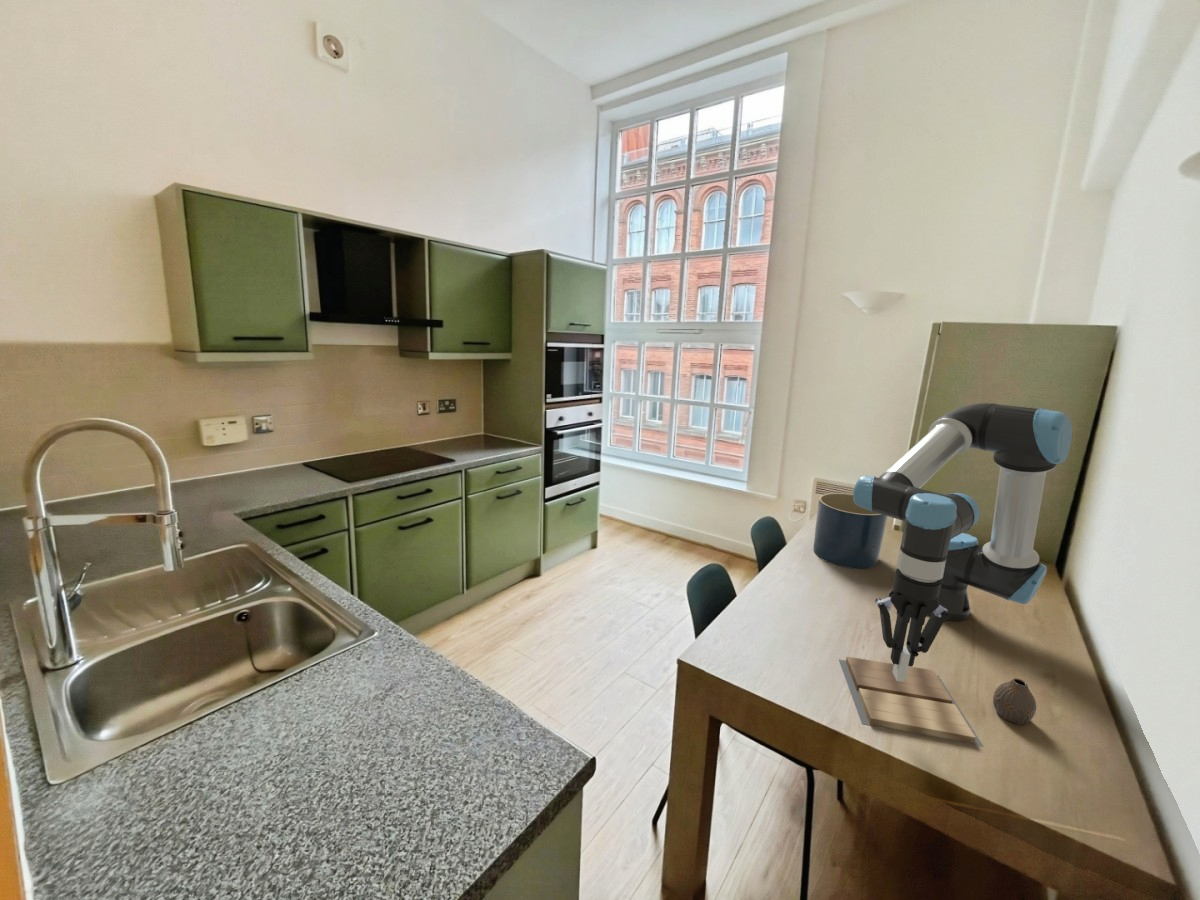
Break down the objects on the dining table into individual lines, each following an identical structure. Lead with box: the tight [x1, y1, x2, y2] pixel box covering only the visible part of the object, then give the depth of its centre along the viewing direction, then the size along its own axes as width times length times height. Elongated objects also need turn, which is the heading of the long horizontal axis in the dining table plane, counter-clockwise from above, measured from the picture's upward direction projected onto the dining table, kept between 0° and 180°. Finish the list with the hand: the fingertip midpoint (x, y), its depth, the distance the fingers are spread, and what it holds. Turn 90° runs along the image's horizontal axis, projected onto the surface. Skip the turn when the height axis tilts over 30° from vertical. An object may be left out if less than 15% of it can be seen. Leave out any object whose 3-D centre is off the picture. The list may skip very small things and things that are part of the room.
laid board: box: [845, 656, 953, 704], centre depth 113 cm, size 19×10×2 cm, turn 77°
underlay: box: [838, 659, 984, 748], centre depth 109 cm, size 22×21×1 cm
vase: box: [992, 677, 1037, 725], centre depth 104 cm, size 7×7×9 cm
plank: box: [858, 688, 976, 744], centre depth 103 cm, size 19×9×2 cm, turn 77°
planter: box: [813, 492, 888, 570], centre depth 177 cm, size 22×22×20 cm
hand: (898, 677), depth 101 cm, fingers closed
